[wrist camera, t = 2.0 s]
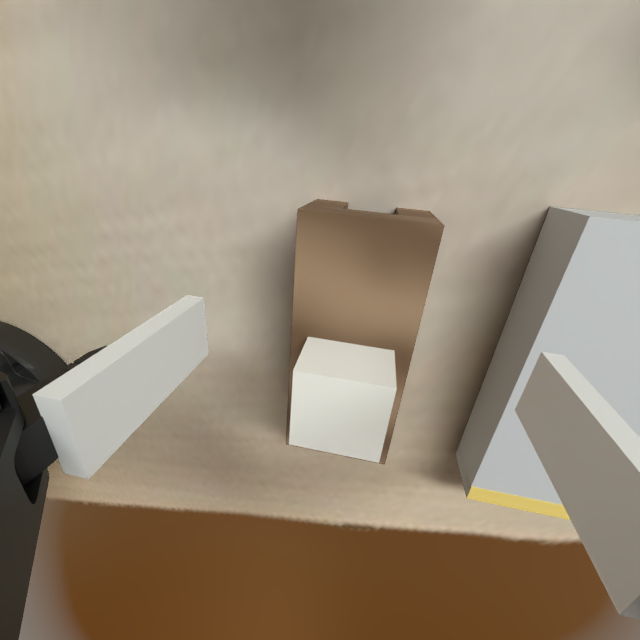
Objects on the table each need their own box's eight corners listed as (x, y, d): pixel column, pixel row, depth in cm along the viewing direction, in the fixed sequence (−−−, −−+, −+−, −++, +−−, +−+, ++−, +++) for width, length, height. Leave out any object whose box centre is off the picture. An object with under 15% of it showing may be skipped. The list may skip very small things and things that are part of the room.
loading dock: (455, 454, 27) (466, 498, 24) (550, 206, 18) (591, 216, 15) (637, 489, 26) (679, 542, 22) (837, 235, 17) (963, 255, 13)
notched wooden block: (384, 410, 27) (385, 464, 22) (303, 395, 28) (285, 444, 23) (429, 210, 20) (444, 225, 15) (317, 198, 21) (297, 209, 16)
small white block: (302, 403, 21) (288, 444, 18) (307, 336, 19) (293, 370, 16) (379, 417, 20) (379, 462, 17) (394, 350, 18) (396, 388, 15)
